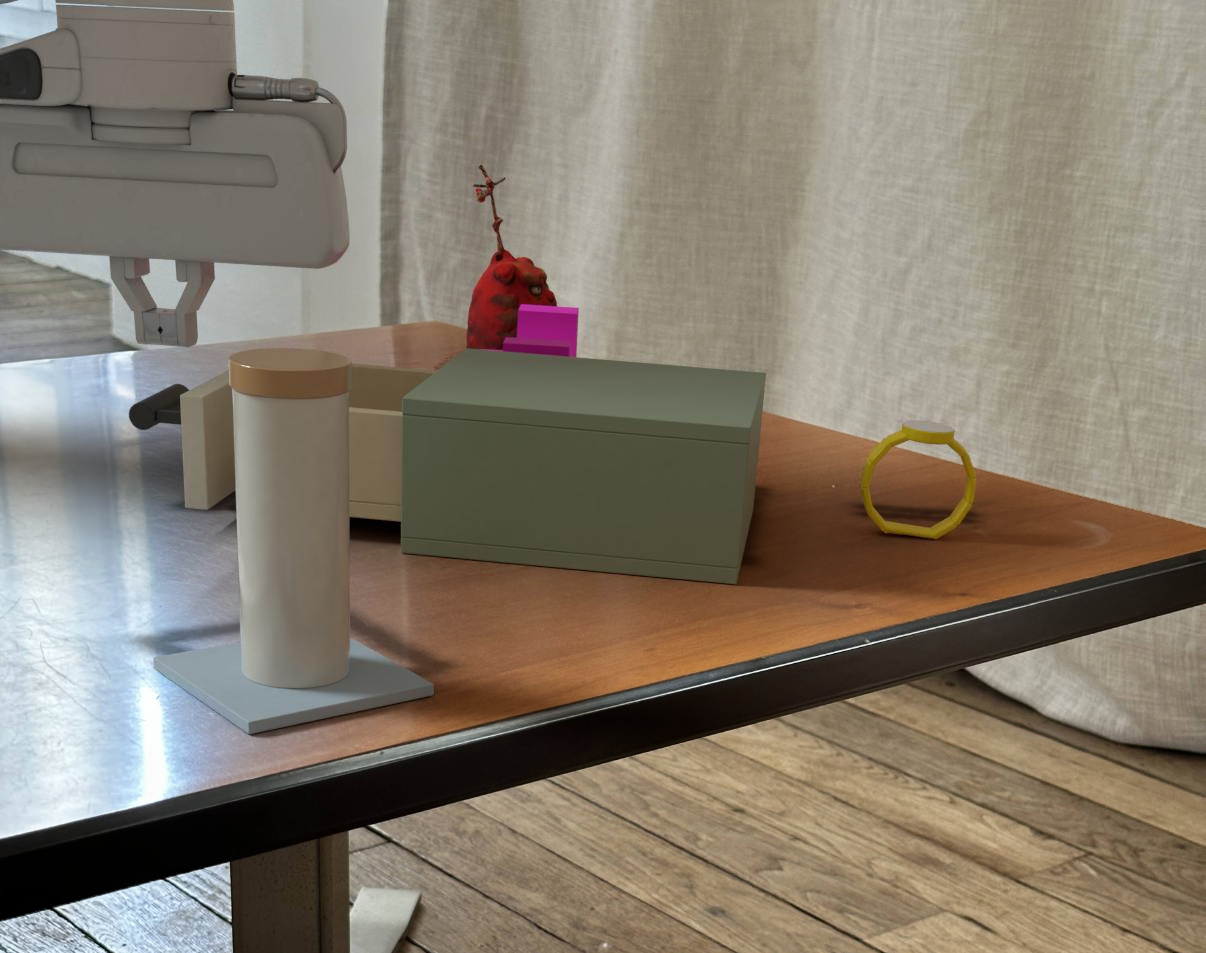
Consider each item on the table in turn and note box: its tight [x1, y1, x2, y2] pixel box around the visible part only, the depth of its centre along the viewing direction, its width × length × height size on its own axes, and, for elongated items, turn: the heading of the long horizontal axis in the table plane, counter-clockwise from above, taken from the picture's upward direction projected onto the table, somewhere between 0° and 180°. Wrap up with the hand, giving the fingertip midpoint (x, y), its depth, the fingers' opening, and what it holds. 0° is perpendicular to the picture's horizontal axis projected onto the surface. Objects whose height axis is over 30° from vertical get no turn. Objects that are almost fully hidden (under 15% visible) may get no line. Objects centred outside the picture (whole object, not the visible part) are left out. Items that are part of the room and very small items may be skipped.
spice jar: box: [228, 347, 353, 689], centre depth 64 cm, size 4×4×12 cm
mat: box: [153, 636, 435, 735], centre depth 67 cm, size 8×8×1 cm
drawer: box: [128, 363, 437, 523], centre depth 90 cm, size 20×13×6 cm
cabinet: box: [400, 347, 767, 585], centre depth 88 cm, size 17×15×8 cm
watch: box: [859, 419, 978, 540], centre depth 91 cm, size 6×3×6 cm, turn 87°
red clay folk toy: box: [465, 164, 558, 350], centre depth 121 cm, size 8×7×15 cm
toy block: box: [481, 304, 580, 357], centre depth 105 cm, size 15×6×8 cm, turn 179°
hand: (167, 344), depth 94 cm, fingers closed
